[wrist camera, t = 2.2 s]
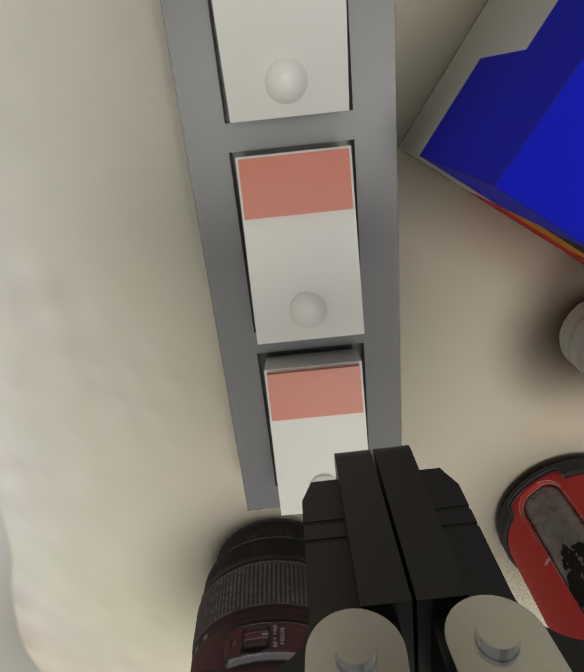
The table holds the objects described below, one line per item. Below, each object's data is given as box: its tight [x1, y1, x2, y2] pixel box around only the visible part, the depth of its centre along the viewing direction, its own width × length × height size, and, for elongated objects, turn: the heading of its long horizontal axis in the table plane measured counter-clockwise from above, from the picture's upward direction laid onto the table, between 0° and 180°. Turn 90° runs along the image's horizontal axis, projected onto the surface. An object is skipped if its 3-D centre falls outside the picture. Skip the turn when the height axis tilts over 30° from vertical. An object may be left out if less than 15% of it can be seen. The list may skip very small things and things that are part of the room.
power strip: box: [160, 0, 401, 510], centre depth 20 cm, size 26×7×3 cm, turn 6°
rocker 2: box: [235, 145, 365, 345], centre depth 18 cm, size 6×4×2 cm, turn 5°
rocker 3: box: [264, 348, 368, 516], centre depth 21 cm, size 6×4×2 cm, turn 5°
